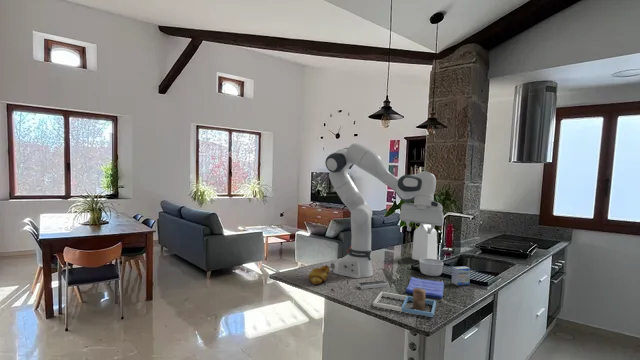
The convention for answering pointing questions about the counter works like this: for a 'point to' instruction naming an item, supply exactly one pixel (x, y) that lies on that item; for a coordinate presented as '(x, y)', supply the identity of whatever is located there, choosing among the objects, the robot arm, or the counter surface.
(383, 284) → the multiport hub
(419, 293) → the brown cylinder
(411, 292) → the dish towel
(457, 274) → the medicine box
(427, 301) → the sorting rack
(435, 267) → the ramekin
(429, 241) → the milk
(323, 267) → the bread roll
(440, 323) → the counter surface
